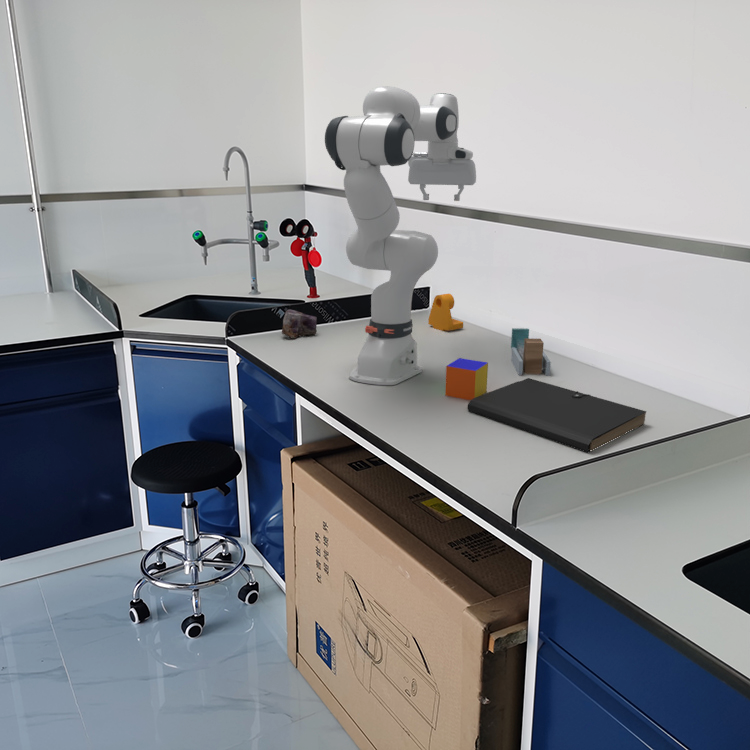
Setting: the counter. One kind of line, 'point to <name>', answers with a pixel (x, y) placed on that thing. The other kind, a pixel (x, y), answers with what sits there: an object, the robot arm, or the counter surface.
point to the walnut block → (532, 356)
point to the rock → (298, 324)
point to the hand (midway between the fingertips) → (441, 200)
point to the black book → (558, 413)
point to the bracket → (443, 314)
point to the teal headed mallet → (519, 339)
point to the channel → (518, 362)
